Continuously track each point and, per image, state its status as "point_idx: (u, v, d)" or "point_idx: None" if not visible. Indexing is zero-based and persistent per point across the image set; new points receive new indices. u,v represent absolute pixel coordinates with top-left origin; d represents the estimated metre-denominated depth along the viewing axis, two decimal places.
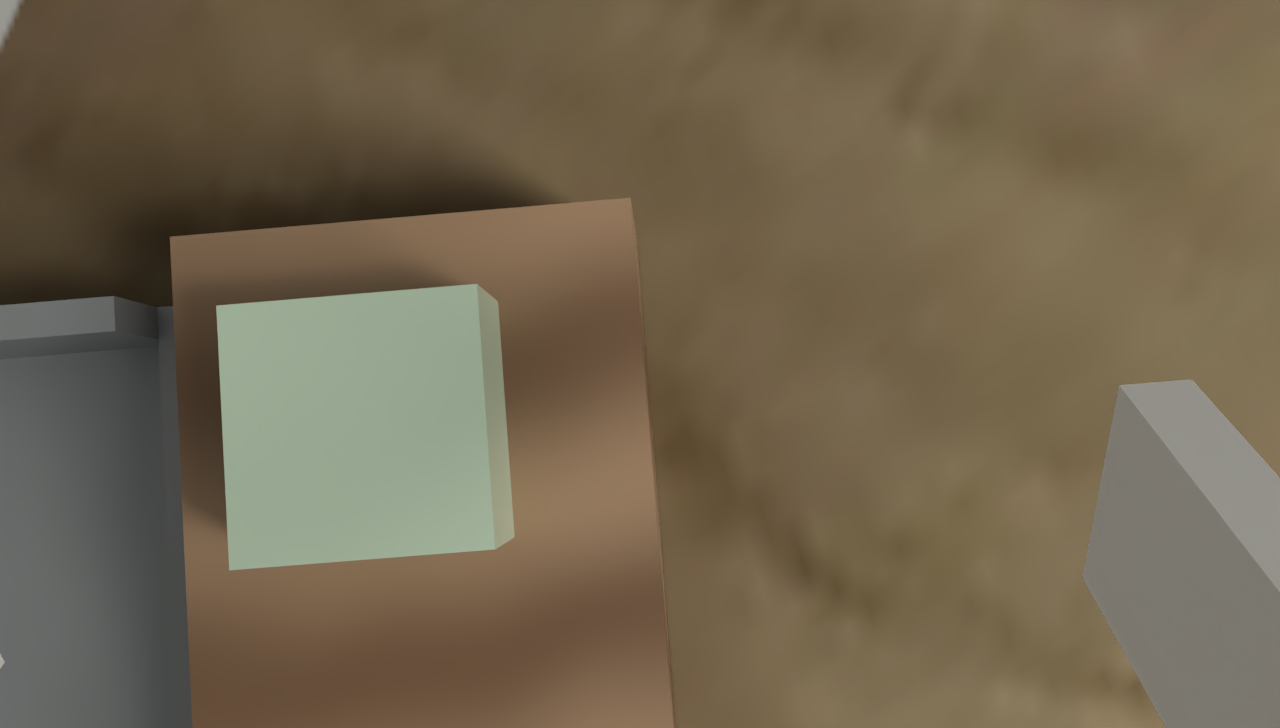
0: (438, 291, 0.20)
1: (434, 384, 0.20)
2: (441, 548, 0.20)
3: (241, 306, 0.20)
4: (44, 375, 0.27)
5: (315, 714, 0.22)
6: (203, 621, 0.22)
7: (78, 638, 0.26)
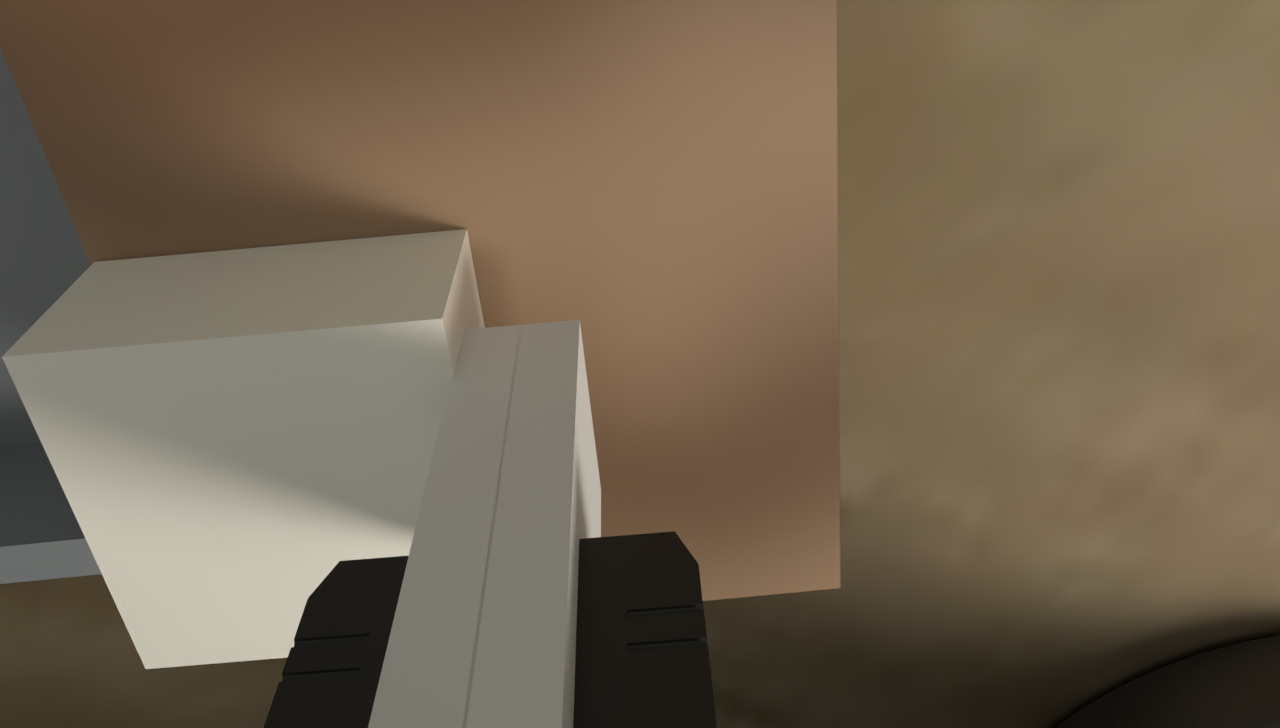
0: None
1: None
2: None
3: None
4: None
5: (221, 50, 0.13)
6: None
7: None
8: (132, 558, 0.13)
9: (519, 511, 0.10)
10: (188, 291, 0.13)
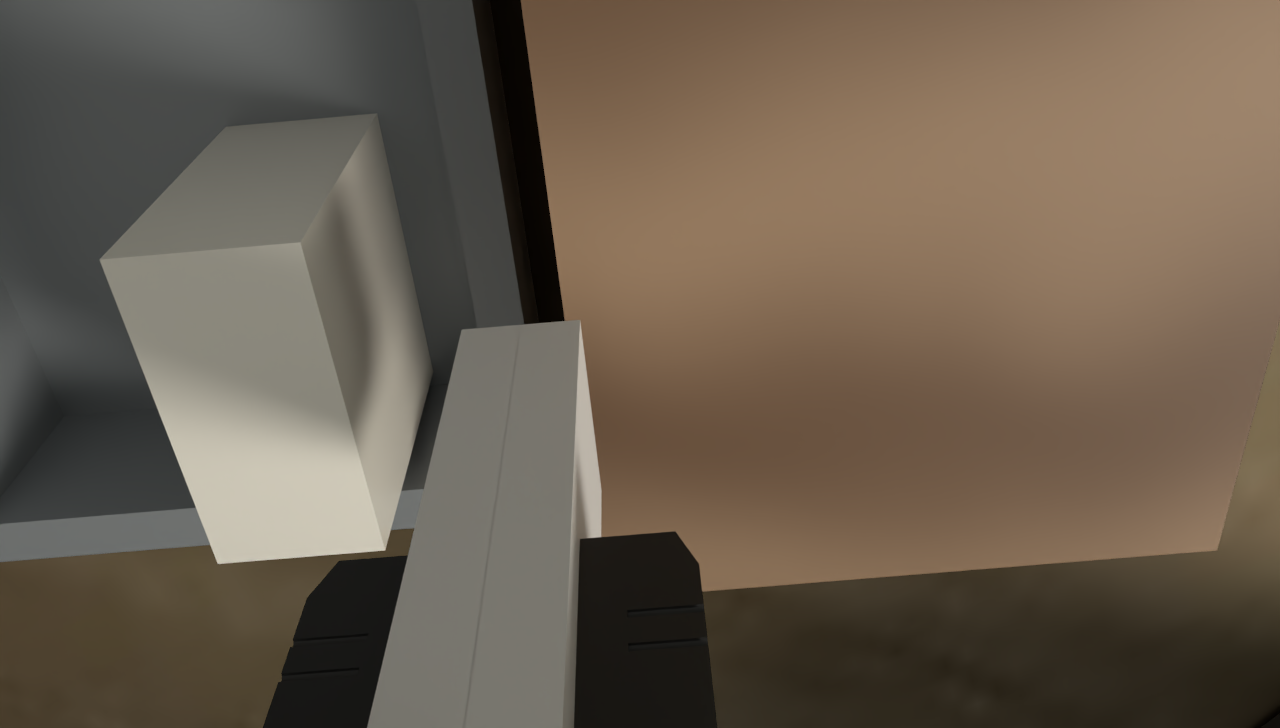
0: None
1: None
2: None
3: None
4: None
5: None
6: None
7: None
8: None
9: (519, 511, 0.10)
10: (277, 155, 0.16)
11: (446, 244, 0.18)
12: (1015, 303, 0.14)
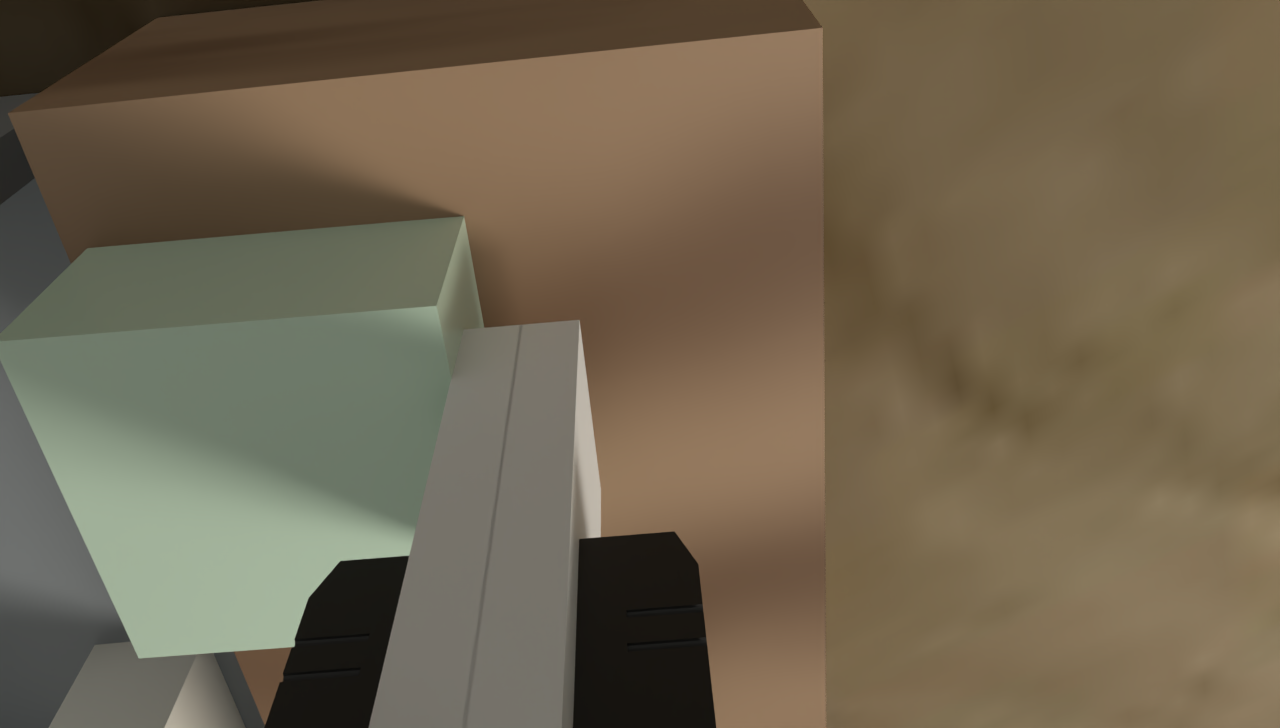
0: (372, 318, 0.12)
1: (386, 448, 0.13)
2: None
3: (36, 342, 0.12)
4: None
5: None
6: None
7: (61, 503, 0.21)
8: None
9: (519, 511, 0.10)
10: (122, 699, 0.22)
11: None
12: None
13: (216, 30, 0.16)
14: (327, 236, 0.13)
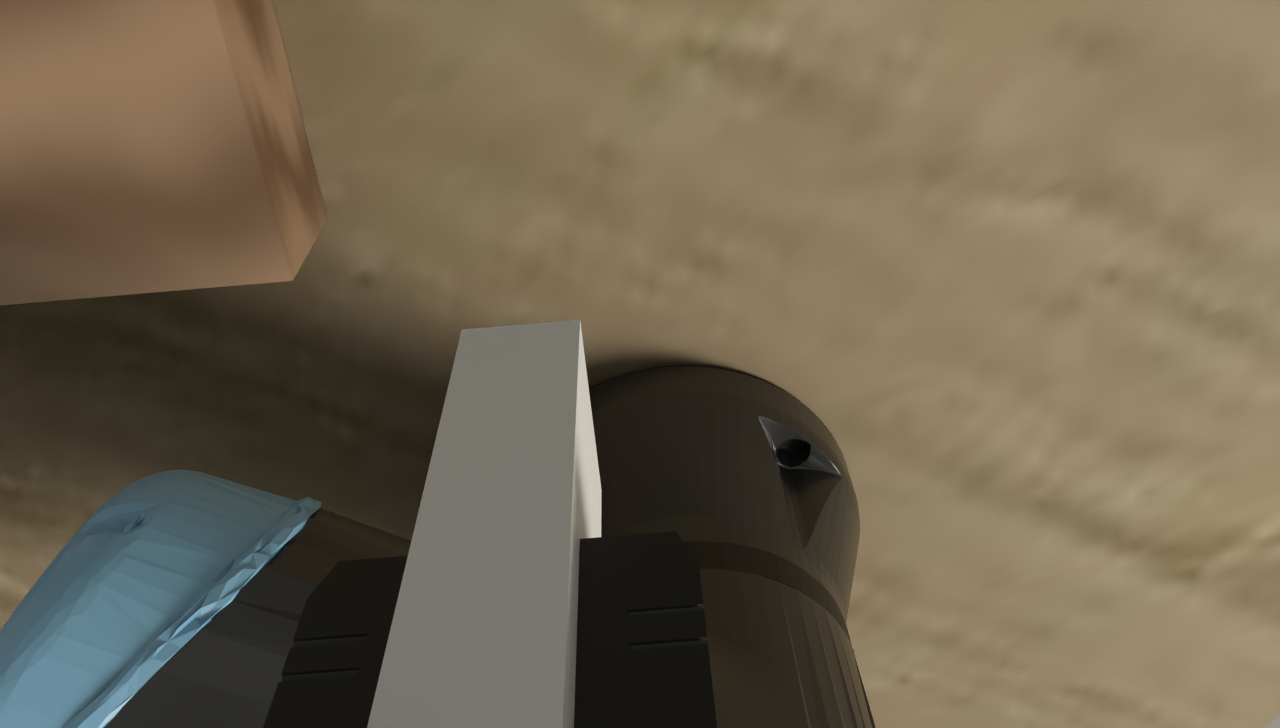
0: None
1: None
2: None
3: None
4: None
5: None
6: None
7: None
8: None
9: (520, 511, 0.10)
10: None
11: None
12: (127, 146, 0.32)
13: None
14: None
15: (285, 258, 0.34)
